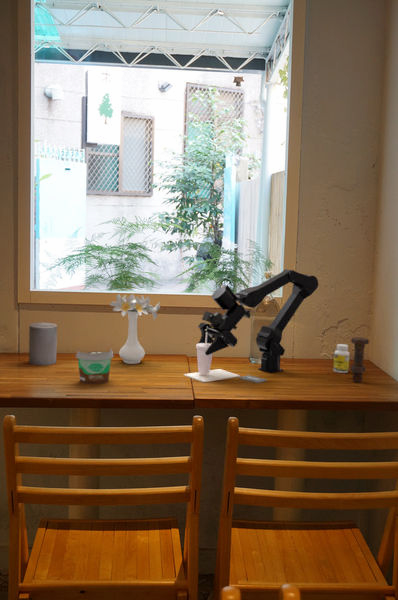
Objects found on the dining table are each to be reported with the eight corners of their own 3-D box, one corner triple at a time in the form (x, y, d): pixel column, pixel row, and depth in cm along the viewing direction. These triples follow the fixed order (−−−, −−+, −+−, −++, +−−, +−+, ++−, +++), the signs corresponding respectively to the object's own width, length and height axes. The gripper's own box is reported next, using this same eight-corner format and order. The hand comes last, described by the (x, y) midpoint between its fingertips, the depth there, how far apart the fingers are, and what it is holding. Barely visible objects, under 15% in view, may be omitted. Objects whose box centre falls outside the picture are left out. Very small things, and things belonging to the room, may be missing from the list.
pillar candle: (22, 362, 235) (23, 321, 233) (43, 358, 243) (44, 318, 241) (41, 367, 230) (42, 324, 228) (62, 362, 238) (63, 321, 236)
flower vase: (159, 366, 237) (161, 297, 234) (107, 365, 236) (108, 296, 232) (158, 358, 250) (160, 293, 247) (109, 357, 248) (110, 291, 245)
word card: (248, 376, 227) (248, 374, 227) (266, 380, 222) (267, 379, 222) (239, 378, 224) (239, 377, 224) (258, 383, 218) (258, 381, 218)
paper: (219, 369, 235) (219, 368, 235) (240, 376, 227) (240, 375, 226) (183, 375, 225) (183, 374, 225) (203, 382, 217) (203, 381, 217)
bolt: (366, 380, 227) (369, 338, 225) (365, 384, 222) (368, 340, 221) (349, 378, 229) (352, 336, 227) (347, 382, 224) (350, 338, 222)
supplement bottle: (330, 370, 240) (331, 344, 239) (339, 369, 244) (341, 343, 243) (342, 373, 236) (344, 347, 235) (351, 371, 240) (353, 345, 239)
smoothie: (216, 372, 227) (218, 332, 224) (208, 376, 221) (210, 335, 219) (199, 369, 229) (201, 329, 227) (191, 373, 224) (193, 332, 221)
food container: (81, 386, 206) (81, 354, 205) (75, 381, 212) (76, 351, 211) (118, 382, 212) (119, 352, 211) (111, 378, 217) (112, 348, 216)
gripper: (203, 299, 232) (174, 332, 228) (230, 306, 215) (200, 342, 212) (222, 320, 236) (194, 352, 233) (250, 329, 220) (220, 364, 216)
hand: (201, 352), depth 223 cm, fingers closed on smoothie, 6 cm apart
